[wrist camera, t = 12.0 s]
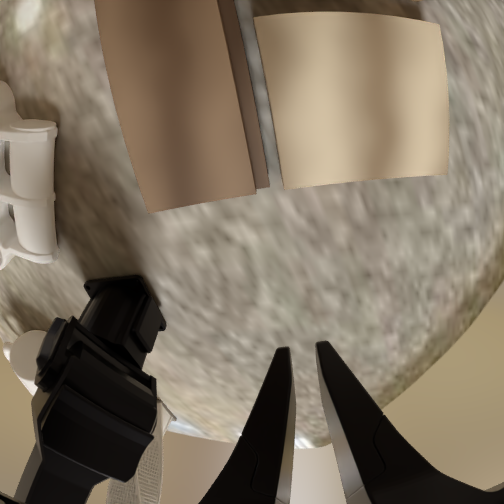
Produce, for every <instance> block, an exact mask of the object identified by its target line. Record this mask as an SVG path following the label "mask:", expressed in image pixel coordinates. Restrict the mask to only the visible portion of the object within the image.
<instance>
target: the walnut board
mask: <svg viewBox="0 0 504 504" xmlns="http://www.w3.org/2000/svg"><path fill="white" fill-rule="evenodd" d="M94 2H95V9H96V16H97V22H98V29H99V34H100V40H101V45H102V51H103V56H104V60H105V65H106V70H107V74H108V79H109V83H110V87H111V92H112V96H113V100H114V104H115V107H116V111H117V115H118V119H119V122H120V126H121V130H122V133H123V137H124V140H125V143H126V147H127V150H128V153H129V157H130V160H131V163H132V166H133V169H134V173H135V176H136V179H137V182H138V185H139V188H140V191H141V194H142V196H143V199H144V202H145V205H146V208H147V211H148V213H154V212H158V211H163V210H168V209H173V208H178V207H184V206H189V205H194V204H200V203H205V202H211V201H217V200H222V199H228V198H234V197H240V196H247V195H253V194H256V189H260V188H266V187H270V184H269V177H268V171H267V166H266V160H265V154H264V148H263V143H262V137H261V132H260V126H259V121H258V115H257V110H256V105H255V100H254V94H253V89H252V84H251V79H250V74H249V69H248V64H247V59H246V54H245V50H244V45H243V40H242V35H241V31H240V26H239V22H238V17H237V13H236V8H235V4H234V0H94Z"/></svg>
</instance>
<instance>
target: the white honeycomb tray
mask: <svg viewBox="0 0 504 504" xmlns="http://www.w3.org/2000/svg"><path fill="white" fill-rule="evenodd" d="M57 130H58V128H57V127H56V123H55V122H53V121H47V120H38V119H26V120H22V118H21V117H20V116H19V114H18V113H17V111H16V106H15V99H14V95H13V92H12V90H11V88H10V87H9V85H8V84H7V83H5V82H4V81H0V270H1V269H3V268H4V267H5V266H6V265H7V264H8V263H9V262H10V261H11V259H12V258H13V257H14V256H15V255H17V256H19V257H21V258H24V259H28V260H30V261H32V262H36V263H43V264H46V263H52V262H54V261H56V260H57V258H58V254H59V247H58V245H57V240H56V229H55V214H54V201H55V200H56V198H55V192H54V146H55V137H56V136H57ZM4 141H10V175H8V173H7V172H6V170H5V155H4ZM8 203H9V204H11V205H13V210H14V218H15V222H14V221H13V219H12V218H11V217H10V215H9V210H8Z"/></svg>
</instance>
